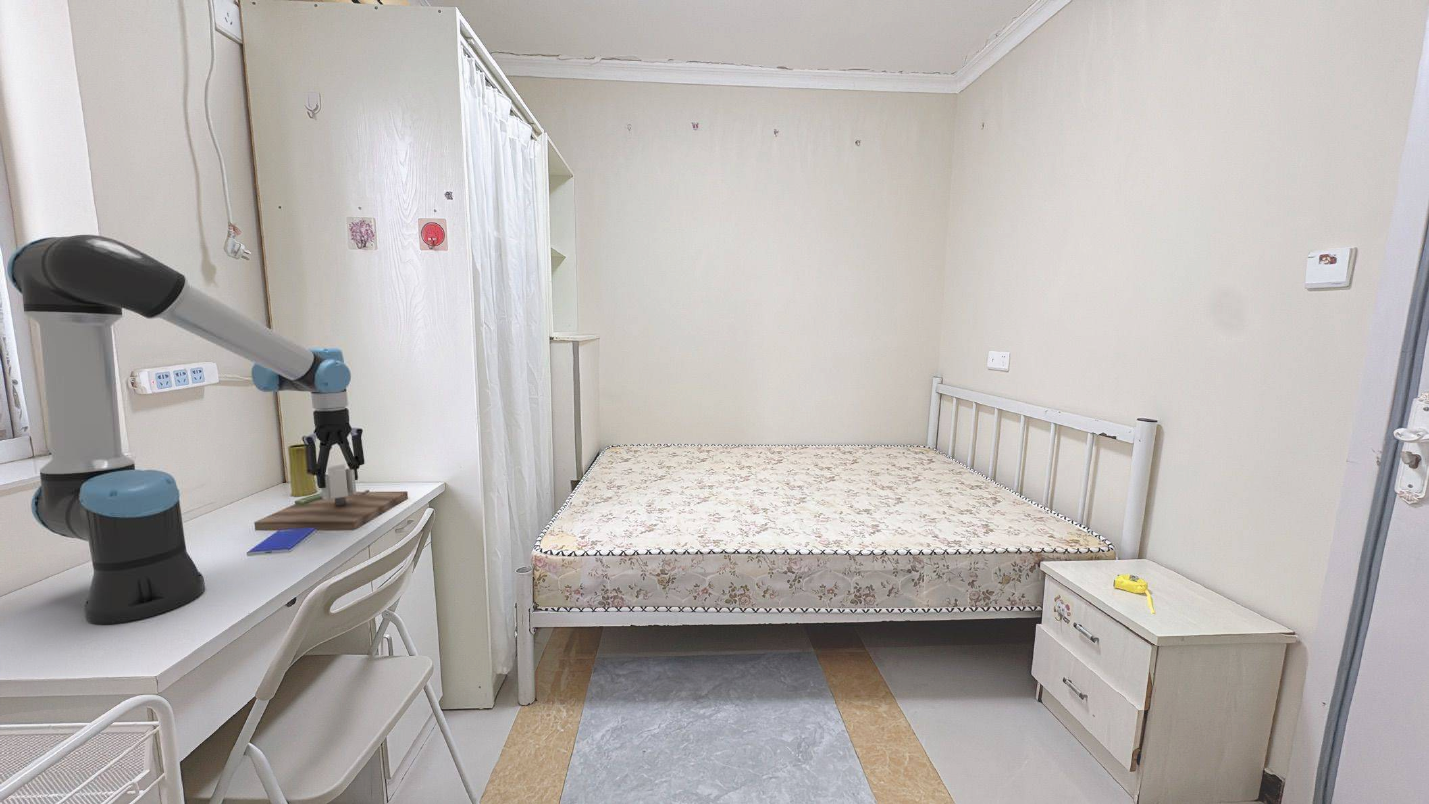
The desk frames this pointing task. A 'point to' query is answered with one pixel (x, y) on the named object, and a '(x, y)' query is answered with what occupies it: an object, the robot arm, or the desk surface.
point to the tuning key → (338, 483)
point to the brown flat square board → (332, 512)
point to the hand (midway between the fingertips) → (339, 496)
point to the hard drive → (282, 541)
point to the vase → (300, 472)
